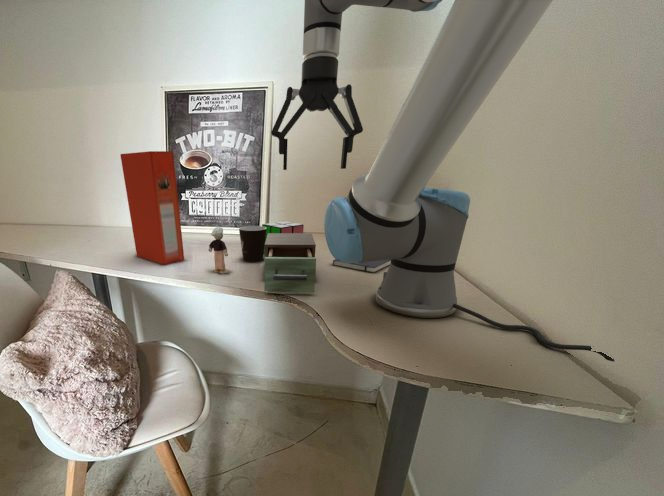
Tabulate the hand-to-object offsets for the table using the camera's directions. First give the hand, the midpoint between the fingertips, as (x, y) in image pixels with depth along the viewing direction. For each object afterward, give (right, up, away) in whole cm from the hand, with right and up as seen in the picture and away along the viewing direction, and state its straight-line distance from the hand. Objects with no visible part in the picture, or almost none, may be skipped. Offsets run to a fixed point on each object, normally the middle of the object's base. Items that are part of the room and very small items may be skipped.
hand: (313, 169), depth 79 cm
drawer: (-6, -27, +2) cm, 28 cm away
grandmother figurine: (-24, -22, +17) cm, 37 cm away
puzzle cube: (-4, -14, +35) cm, 38 cm away
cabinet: (-4, -23, +15) cm, 27 cm away
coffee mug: (-13, -16, +30) cm, 37 cm away
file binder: (-45, -16, +33) cm, 58 cm away
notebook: (+22, -18, +24) cm, 37 cm away
